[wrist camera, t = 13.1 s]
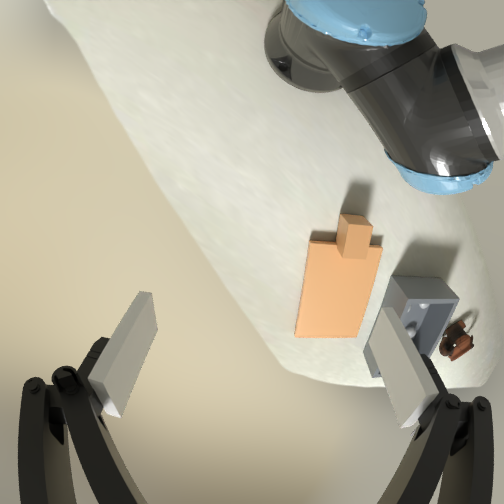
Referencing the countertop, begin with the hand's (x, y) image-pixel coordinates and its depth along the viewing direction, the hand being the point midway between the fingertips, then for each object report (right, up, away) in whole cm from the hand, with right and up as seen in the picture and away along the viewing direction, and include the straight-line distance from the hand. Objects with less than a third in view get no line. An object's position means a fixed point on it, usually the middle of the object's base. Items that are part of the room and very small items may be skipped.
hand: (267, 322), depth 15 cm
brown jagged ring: (+50, -18, +41) cm, 67 cm away
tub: (+31, -10, +38) cm, 50 cm away
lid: (+15, -1, +34) cm, 37 cm away
